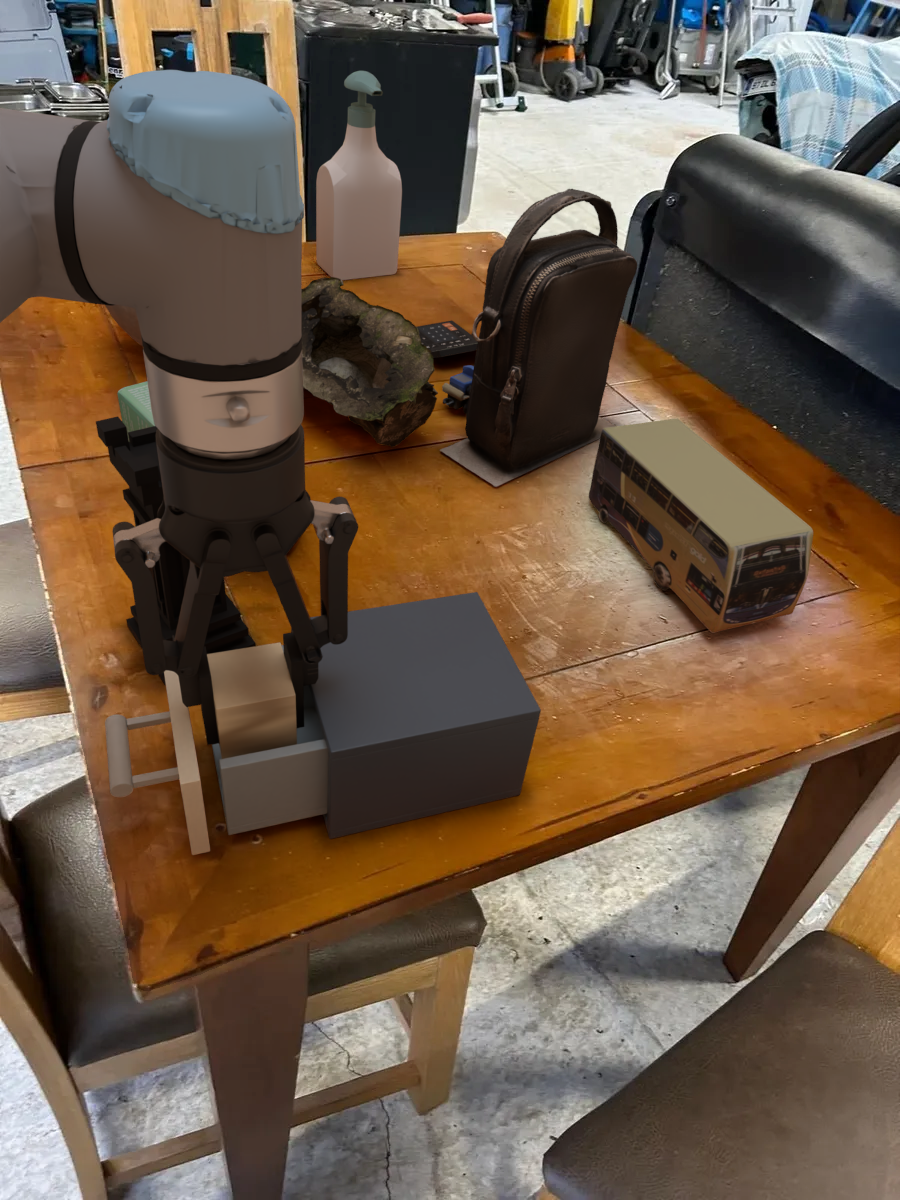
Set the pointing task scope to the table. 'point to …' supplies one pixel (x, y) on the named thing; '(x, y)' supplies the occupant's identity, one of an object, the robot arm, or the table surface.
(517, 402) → the shoulder bag
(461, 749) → the cabinet
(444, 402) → the toy train
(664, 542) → the toy bus
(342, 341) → the hollow geode rock
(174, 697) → the drawer
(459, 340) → the calculator
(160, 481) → the chess piece
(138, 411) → the box
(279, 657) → the block
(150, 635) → the robot arm
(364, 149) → the soap bottle
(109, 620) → the table surface
